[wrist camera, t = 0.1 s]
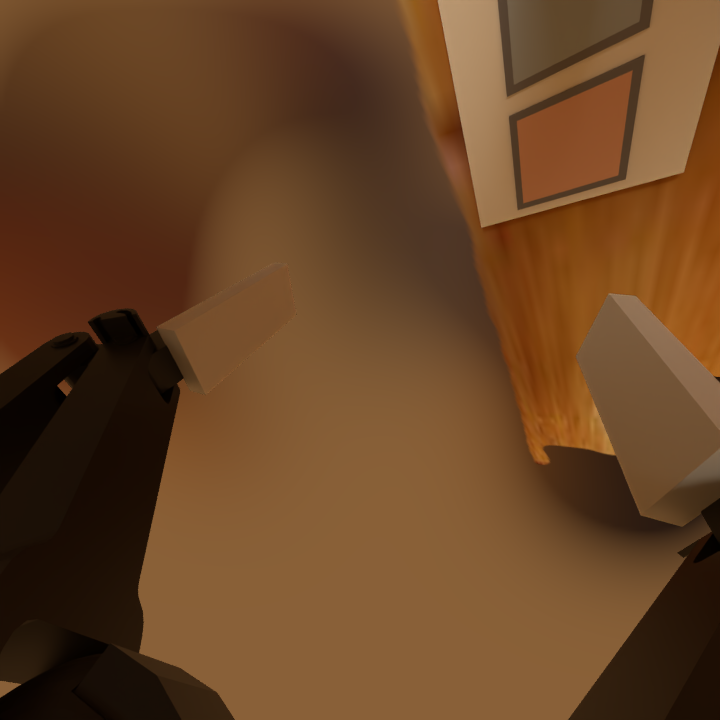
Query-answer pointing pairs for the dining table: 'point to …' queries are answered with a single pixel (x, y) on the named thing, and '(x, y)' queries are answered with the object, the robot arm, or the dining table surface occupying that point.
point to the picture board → (576, 94)
